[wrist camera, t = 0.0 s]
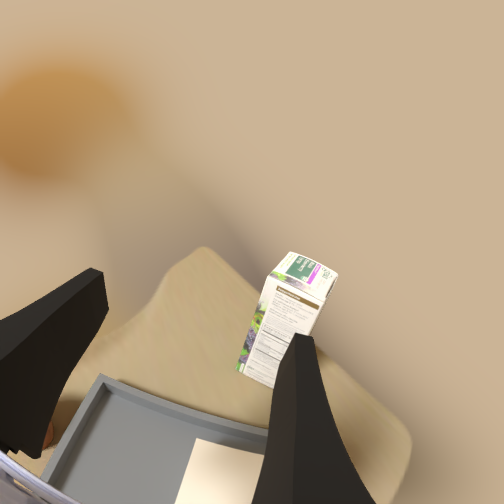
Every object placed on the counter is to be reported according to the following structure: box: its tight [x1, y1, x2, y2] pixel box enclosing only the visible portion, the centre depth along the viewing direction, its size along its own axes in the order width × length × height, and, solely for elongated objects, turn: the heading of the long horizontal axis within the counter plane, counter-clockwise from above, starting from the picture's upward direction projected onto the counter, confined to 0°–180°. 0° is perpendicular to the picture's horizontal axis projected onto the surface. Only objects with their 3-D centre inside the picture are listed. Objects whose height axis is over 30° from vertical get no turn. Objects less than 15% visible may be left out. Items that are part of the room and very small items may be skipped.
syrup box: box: [236, 252, 338, 389], centre depth 33 cm, size 6×6×14 cm
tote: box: [32, 373, 268, 504], centre depth 20 cm, size 16×21×2 cm
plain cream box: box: [175, 438, 264, 504], centre depth 19 cm, size 8×8×4 cm
